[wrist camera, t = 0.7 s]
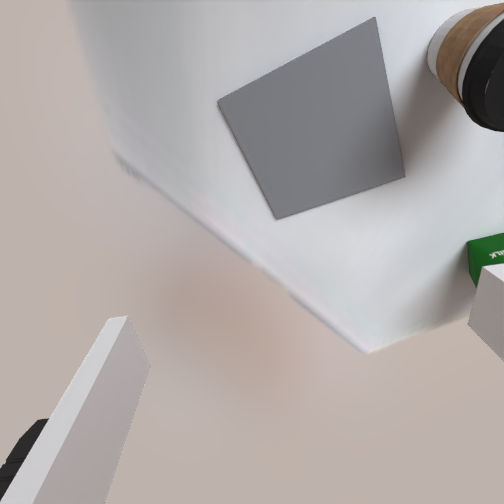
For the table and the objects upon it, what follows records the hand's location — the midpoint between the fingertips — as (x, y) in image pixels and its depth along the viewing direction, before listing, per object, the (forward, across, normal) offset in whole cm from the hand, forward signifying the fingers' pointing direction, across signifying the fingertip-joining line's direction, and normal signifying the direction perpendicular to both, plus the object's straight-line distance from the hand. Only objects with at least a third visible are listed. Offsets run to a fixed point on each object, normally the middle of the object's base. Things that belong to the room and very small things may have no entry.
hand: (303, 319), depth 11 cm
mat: (+31, +7, +2) cm, 32 cm away
